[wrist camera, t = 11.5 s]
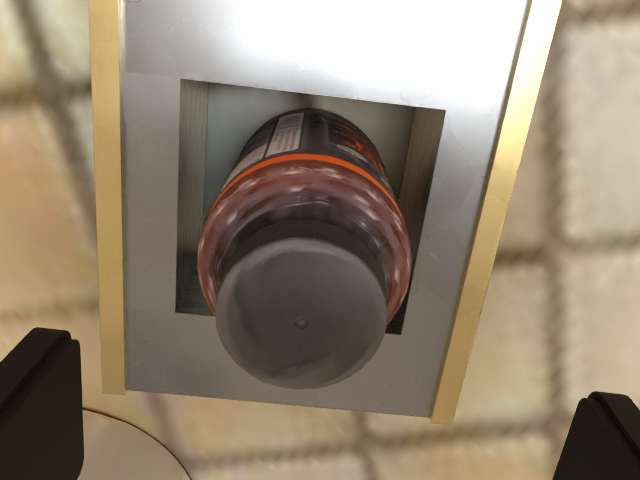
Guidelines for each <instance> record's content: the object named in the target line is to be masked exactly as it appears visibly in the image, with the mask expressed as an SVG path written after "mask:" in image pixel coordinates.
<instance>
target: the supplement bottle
mask: <svg viewBox="0 0 640 480" xmlns="http://www.w3.org/2000/svg"><path fill="white" fill-rule="evenodd" d="M411 261H412V256H411V248H410V240H409V236H408V233H407V229H406V226H405V223H404V219H403V216H402V213H401V210H400V207H399V206H398V203H397V200H396V198H395V196H394V193H393V190H392V188H391V184H390V182H389V179H388V176H387V174H386V171H385V168H384V165H383V163H382V161H381V158H380V156H379V153H378V152H377V150H376V147H375V146H374V144H373V143H372V142H371V141H370V139H369V138H368V137H367V136H366V135H365V134H364V133H363V132H362V131H361V130H360V129H359V128H358V127H357V126H355V125H354V124H353V123H351V122H350V121H348V120H347V119H345V118H343V117H341V116H339V115H336V114H333V113H330V112H326V111H323V110H313V109H307V110H298V111H292V112H288V113H285V114H282V115H279V116H277V117H275V118H273V119H271V120H269V121H268V122H267V123H265V124H264V125H263V126H262V127H260V128H259V129H258V130H257V131H256V132H255V133H254V135H253V136H252V137H251V138H250V139H249V140H248V142H247V144H246V145H245V146H244V148H243V150H242V151H241V153H240V155H239V157H238V159H237V161H236V163H235V165H234V166H233V168H232V170H231V172H230V174H229V176H228V178H227V180H226V181H225V183H224V185H223V188H222V190H221V191H220V193H219V195H218V197H217V199H216V201H215V202H214V204H213V206H212V208H211V210H210V212H209V215H208V217H207V219H206V221H205V224H204V227H203V230H202V233H201V237H200V241H199V245H198V257H197V269H198V276H199V281H200V285H201V288H202V291H203V294H204V297H205V299H206V301H207V303H208V305H209V307H210V309H211V310H212V312H213V313H214V315H215V317H216V327H217V331H218V334H219V337H220V340H221V342H222V344H223V346H224V348H225V350H226V351H227V352H228V354H229V355H230V356H231V358H232V359H233V361H234V362H235V363H236V364H237V365H238V366H240V367H241V368H243V369H244V370H245V371H246V372H247V373H249V374H250V375H252V376H253V377H255V378H257V379H258V380H260V381H262V382H265V383H268V384H272V385H274V386H278V387H283V388H286V389H304V390H305V389H316V388H323V387H326V386H329V385H333V384H336V383H339V382H341V381H343V380H344V379H346V378H348V377H350V376H352V375H353V374H355V373H356V372H357V371H359V370H360V369H362V368H363V367H364V365H366V364H367V363H368V362H369V361H370V360H371V358H372V357H373V355H374V354H375V353H376V351H377V350H378V348H379V346H380V344H381V342H382V340H383V338H384V335H385V330H386V326H387V324H388V323H389V322H390V321H391V320H392V318H393V317H394V315H395V314H396V312H397V311H398V309H399V307H400V306H401V304H402V301H403V299H404V297H405V295H406V292H407V289H408V285H409V281H410V272H411Z"/></svg>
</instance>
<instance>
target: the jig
mask: <svg viewBox="0 0 640 480" xmlns="http://www.w3.org/2000/svg"><path fill="white" fill-rule="evenodd" d="M561 2H562V0H89V27H90V55H91V83H92V110H93V138H94V166H95V194H96V222H97V250H98V277H99V305H100V333H101V361H102V389H103V393H108V394H119V395H125V394H126V391H127V390H134V391H145V392H156V393H167V394H177V395H188V396H199V397H210V398H221V399H232V400H243V401H254V402H265V403H276V404H287V405H298V406H309V407H320V408H330V409H341V410H352V411H363V412H374V413H385V414H396V415H407V416H418V417H429V418H430V422H431V423H437V424H448V425H452V422H453V418H454V414H455V410H456V406H457V403H458V399H459V395H460V391H461V387H462V383H463V379H464V376H465V372H466V368H467V364H468V360H469V356H470V353H471V349H472V345H473V341H474V337H475V333H476V329H477V326H478V322H479V318H480V314H481V310H482V306H483V302H484V299H485V295H486V291H487V287H488V283H489V279H490V275H491V272H492V268H493V264H494V260H495V256H496V252H497V249H498V245H499V241H500V237H501V233H502V229H503V225H504V222H505V218H506V214H507V210H508V206H509V202H510V198H511V195H512V191H513V187H514V183H515V179H516V175H517V172H518V168H519V164H520V160H521V156H522V152H523V148H524V145H525V141H526V137H527V133H528V129H529V125H530V121H531V118H532V114H533V110H534V106H535V102H536V98H537V94H538V91H539V87H540V83H541V79H542V75H543V71H544V68H545V64H546V60H547V56H548V52H549V48H550V44H551V41H552V37H553V33H554V29H555V25H556V21H557V17H558V14H559V10H560V6H561ZM208 82H214V83H223V84H231V85H239V86H248V87H256V88H265V89H273V90H281V91H290V92H298V93H307V94H315V95H324V96H332V97H340V98H349V99H357V100H366V101H374V102H382V103H391V104H399V105H408V106H416V108H415V113H414V119H413V124H412V130H411V136H410V141H409V147H408V152H407V158H406V163H405V169H404V174H403V180H402V185H401V191H400V197H399V202H398V206H399V207H400V210H401V213H402V216H403V219H404V223H405V226H406V229H407V233H408V236H409V240H410V248H411V256H412V261H411V272H410V281H409V285H408V289H407V292H406V295H405V297H404V299H403V301H402V304H401V306H400V307H399V309H398V311H397V312H396V314H395V315H394V317H393V318H392V320H391V321H390V322H389V323H388V324H387V326H386V330H385V335H384V338H383V340H382V342H381V344H380V346H379V348H378V350H377V351H376V353H375V354H374V355H373V357H372V358H371V360H370V361H369V362H368V363H367V364H366V365H364V367H363V368H362V369H360V370H359V371H357V372H356V373H355V374H353V375H352V376H350V377H348V378H346V379H344V380H343V381H341V382H339V383H336V384H333V385H329V386H326V387H323V388H316V389H305V390H304V389H286V388H283V387H278V386H274V385H272V384H268V383H265V382H262V381H260V380H258V379H257V378H255V377H253V376H252V375H250V374H249V373H247V372H246V371H245V370H244V369H243V368H241V367H240V366H238V365H237V364H236V363H235V362H234V361H233V359H232V358H231V356H230V355H229V354H228V352H227V351H226V350H225V348H224V346H223V344H222V342H221V340H220V337H219V334H218V331H217V327H216V317H215V315H214V313H213V312H212V310H211V309H210V307H209V305H208V303H207V301H206V299H205V297H204V294H203V291H202V288H201V285H200V281H199V276H198V269H197V257H198V245H199V241H200V237H201V233H202V228H203V203H204V179H205V155H206V130H207V106H208Z"/></svg>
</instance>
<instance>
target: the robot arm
mask: <svg viewBox="0 0 640 480" xmlns="http://www.w3.org/2000/svg"><path fill="white" fill-rule="evenodd" d="M83 462H84V434H83V408H82V382H81V356H80V344H79V341H78V340H74V339H71V335H70V333H69V332H68V331H65V330H56V329H48V328H39V327H37V328H34V329H32V330H31V331H30V332H29V333H28V334H27V335H26V336H25V337H24V338H23V339H22V340H21V341H20V342H19V343H18V345H17V346H16V347H15V348H14V349H13V350H12V351H11V352H10V353H9V354H8V355H7V356H6V357H5V358H4V359H3V360H2V361H1V362H0V480H77V479H78V477H79V475H80V473H81V470H82V467H83ZM553 480H640V410H639V409H638V408H637V406H636V405H635V404H634V403H633V401H632V400H631V399H630V398H629V397H628V396H626V395H622V394H614V393H605V392H596V391H595V392H592V393H591V394H590V395H589V396H588V398H583V399H581V400H580V401H579V403H578V406H577V409H576V412H575V415H574V418H573V421H572V424H571V427H570V429H569V432H568V435H567V438H566V441H565V444H564V447H563V450H562V453H561V456H560V459H559V462H558V465H557V468H556V471H555V474H554V477H553Z"/></svg>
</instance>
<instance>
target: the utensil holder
mask: <svg viewBox="0 0 640 480" xmlns="http://www.w3.org/2000/svg"><path fill="white" fill-rule="evenodd" d="M83 434H84V462H83V467H82V470H81V473H80V475H79V477H78V479H77V480H190V478H189V477H188V475H187V473H186V472H185V470H184V469H183V467H182V466H181V465H180V463H179V462H178V461H177V460H176V459H175V457H174V456H173V455H172V454H171V453H170V452H169V451H168V450H167V449H166V448H165V447H163V446H162V445H161V444H160V443H159V442H157V441H156V440H155V439H153V438H152V437H150V436H149V435H147V434H146V433H144V432H142V431H141V430H139V429H137V428H135V427H133V426H132V425H129V424H127V423H125V422H122V421H119V420H116V419H113V418H110V417H107V416H104V415H101V414H99V413H94V412H90V411H86V410H83Z"/></svg>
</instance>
